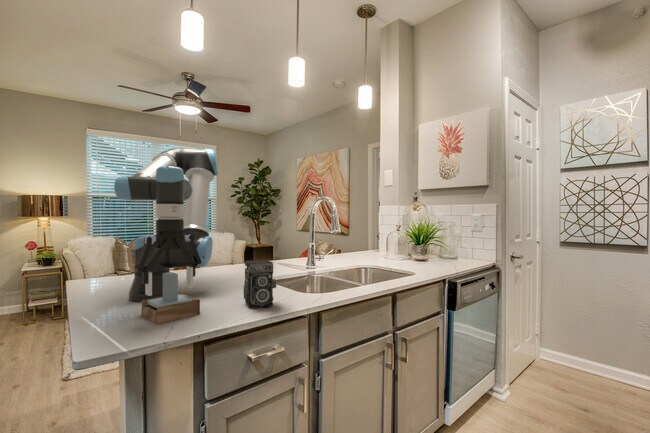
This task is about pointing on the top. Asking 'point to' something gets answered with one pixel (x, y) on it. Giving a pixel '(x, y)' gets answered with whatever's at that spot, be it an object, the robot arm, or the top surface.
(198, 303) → the walnut box
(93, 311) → the top surface
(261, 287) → the camera
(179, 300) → the lid plate
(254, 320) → the top surface
